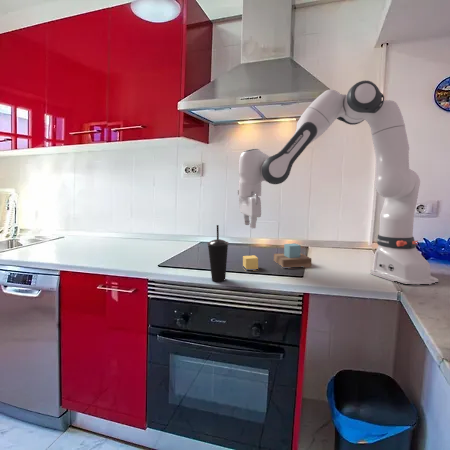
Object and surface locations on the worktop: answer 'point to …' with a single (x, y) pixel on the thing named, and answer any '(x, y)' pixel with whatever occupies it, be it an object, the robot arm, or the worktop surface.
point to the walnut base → (292, 260)
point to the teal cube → (292, 250)
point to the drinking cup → (218, 258)
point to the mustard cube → (250, 262)
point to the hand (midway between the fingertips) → (249, 226)
